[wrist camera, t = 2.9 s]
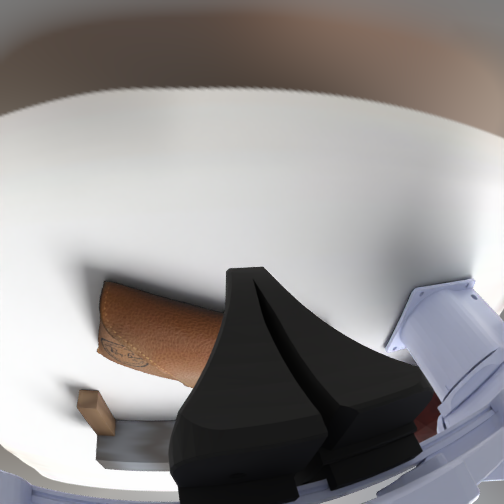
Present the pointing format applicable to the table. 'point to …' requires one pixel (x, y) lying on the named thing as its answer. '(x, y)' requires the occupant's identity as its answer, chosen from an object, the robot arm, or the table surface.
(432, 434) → the potato
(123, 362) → the sunglasses case
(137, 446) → the dock
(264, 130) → the table surface
